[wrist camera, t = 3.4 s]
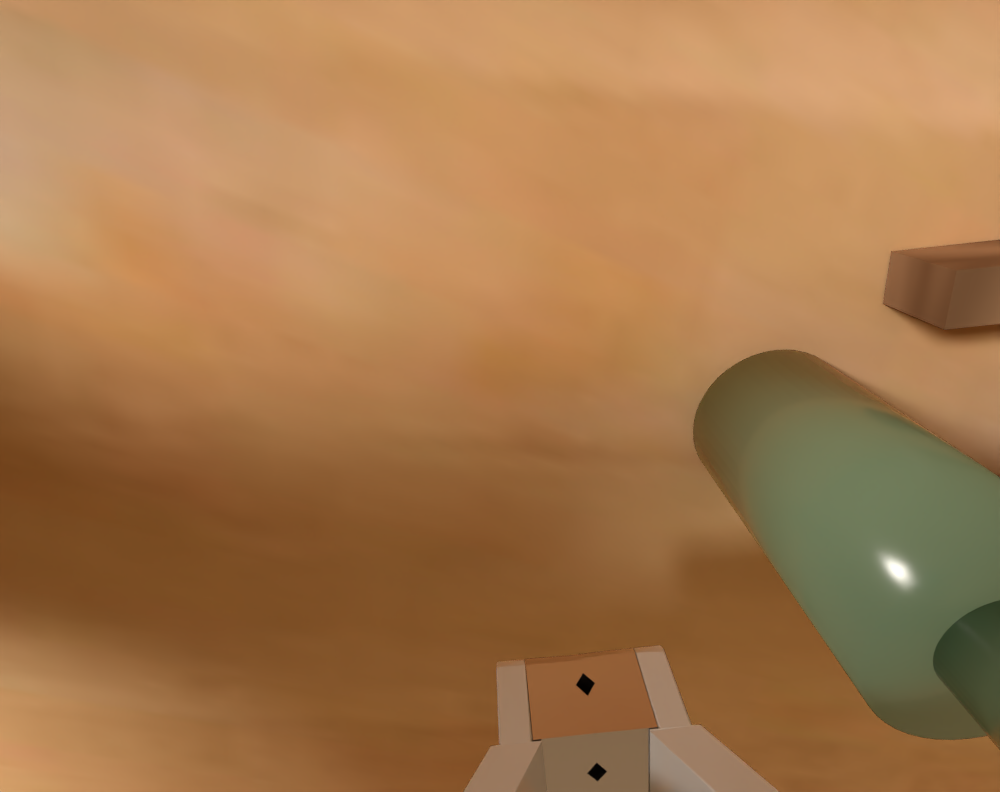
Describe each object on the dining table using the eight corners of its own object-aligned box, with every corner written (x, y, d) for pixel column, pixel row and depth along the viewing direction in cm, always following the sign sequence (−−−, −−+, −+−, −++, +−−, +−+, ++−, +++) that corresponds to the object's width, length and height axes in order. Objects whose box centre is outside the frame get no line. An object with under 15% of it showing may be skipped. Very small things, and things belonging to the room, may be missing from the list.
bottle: (691, 495, 20) (982, 986, 8) (695, 358, 18) (1081, 757, 7) (836, 479, 20) (1324, 950, 8) (856, 341, 18) (1526, 711, 7)
